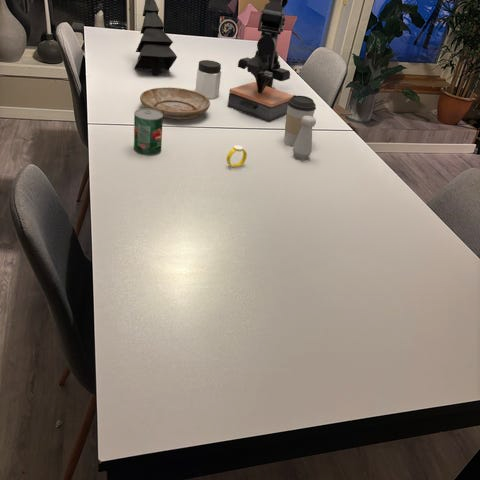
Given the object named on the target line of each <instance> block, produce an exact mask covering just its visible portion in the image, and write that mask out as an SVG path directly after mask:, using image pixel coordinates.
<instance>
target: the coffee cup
mask: <svg viewBox="0 0 480 480" xmlns="http://www.w3.org/2000/svg"><path fill="white" fill-rule="evenodd" d="M292 95H293V94H292ZM287 104H288V109H287V114H286V115H285V123H284V124H285V125H284V126H285V127H284V130H285V131H284V136H283V143H284V144H285V145H286V146H289V147H292V148H293V146H294V144H295V142H296V139H297V137H298V134H299V132H300V129H301V127H302V124H301V119H302V117H303V116H312V117H314V114H315V111H316V109H317V106H316V103H315V102H314V99H313V98H311V97H310V96H305V95H296V94H294V95H293V97H292V98H291V99H290V100H289V102H288V103H287Z"/></svg>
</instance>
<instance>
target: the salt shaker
mask: <svg viewBox="0 0 480 480" xmlns="http://www.w3.org/2000/svg"><path fill="white" fill-rule="evenodd" d="M316 122H317V120H316V118H315V117H314V116H313V117H312V116H303V117H302V119H301V124H302V127H301V129H300V132H299V134H298V137H297V139H296V142H295V144H294V146H293V147H292V153H293V157H295V159H297V160H299V161H305V160H307V159H308V158H309V157H310V155H311V154H312V151H313V128H314V127H315V125H316V124H317V123H316Z"/></svg>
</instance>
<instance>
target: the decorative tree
mask: <svg viewBox="0 0 480 480" xmlns="http://www.w3.org/2000/svg"><path fill="white" fill-rule="evenodd" d="M159 11H160V9H159V6H158V4H157V2H156V0H144V7H143V12H142V17H144V18H143V22H142V26H141V30H140V34H141V35H142V36H141V38H140V41H139V43H138V45H137V48H136V50H135V53H139V55H138V56H137V62H136V64H135V65H134V68H133V69H134V70H135V69H137V70H151V74H152V75H154V76H159V75H161V74H162V70H163V71H164V70H166V71H169V70H170V69H171V68H172V66H173V64H174V63H175V61H176V60H177V58H178V56H177V54H176V53H175V51H173V50H172V47H171V45H172V44H173V43H174V41H173V40H172V39H171V38H170V37H169V36H168V34H167V33H166V32H165V31H164V28H165V24H164V22H163V20H162V19H161V17H160V16H159V13H160V12H159Z"/></svg>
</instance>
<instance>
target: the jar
mask: <svg viewBox="0 0 480 480" xmlns="http://www.w3.org/2000/svg"><path fill="white" fill-rule="evenodd" d="M221 64H222V63H220V62H217V61H215V60H209V59H204V60H203V59H202V60H199V62H198V68H197V70H196V79H195V81H196V82H195V90H194V91H195V92H198V93H200V94H202V95H204V96H205V97H207V98H208V99H209V100H215V99H216V98H217V97H219V95H220V85H221V76H222V71H221V69H222V65H221Z"/></svg>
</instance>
